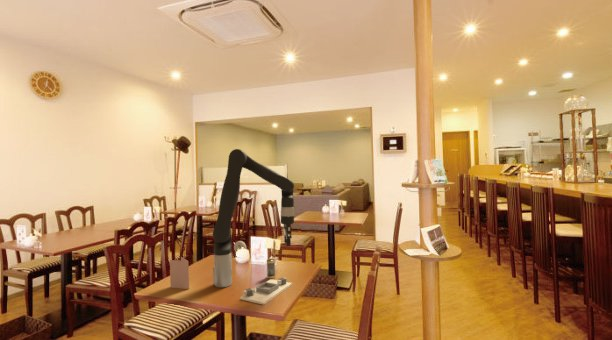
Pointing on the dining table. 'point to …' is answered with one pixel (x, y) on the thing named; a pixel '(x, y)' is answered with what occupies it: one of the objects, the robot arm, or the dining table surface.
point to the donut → (239, 245)
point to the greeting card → (179, 273)
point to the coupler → (271, 268)
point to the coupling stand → (266, 291)
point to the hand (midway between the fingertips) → (287, 244)
